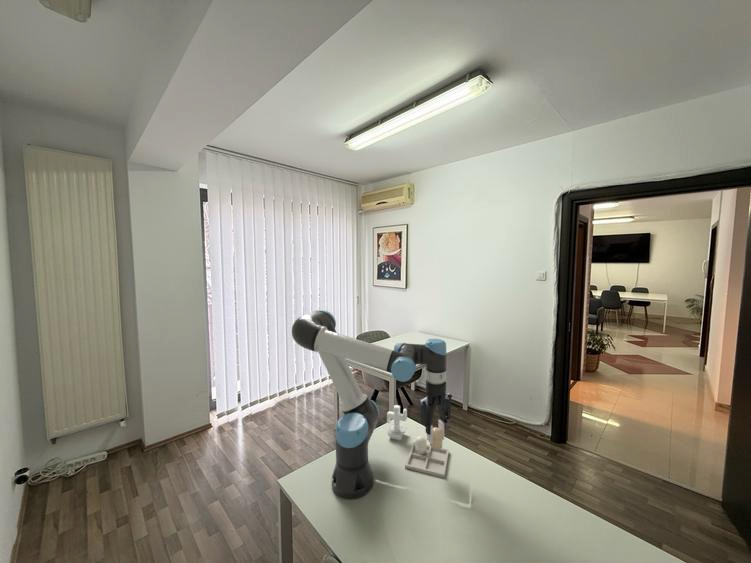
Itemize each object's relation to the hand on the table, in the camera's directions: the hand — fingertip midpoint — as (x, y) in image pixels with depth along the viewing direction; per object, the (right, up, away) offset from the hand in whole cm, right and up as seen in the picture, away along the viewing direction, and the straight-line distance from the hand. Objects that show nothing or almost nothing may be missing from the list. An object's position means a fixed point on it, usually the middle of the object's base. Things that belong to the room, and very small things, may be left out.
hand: (435, 439), depth 112 cm
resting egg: (-4, -11, +10) cm, 15 cm away
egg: (0, -2, 0) cm, 2 cm away
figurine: (-13, -11, +21) cm, 27 cm away
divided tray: (-2, -12, +6) cm, 13 cm away
